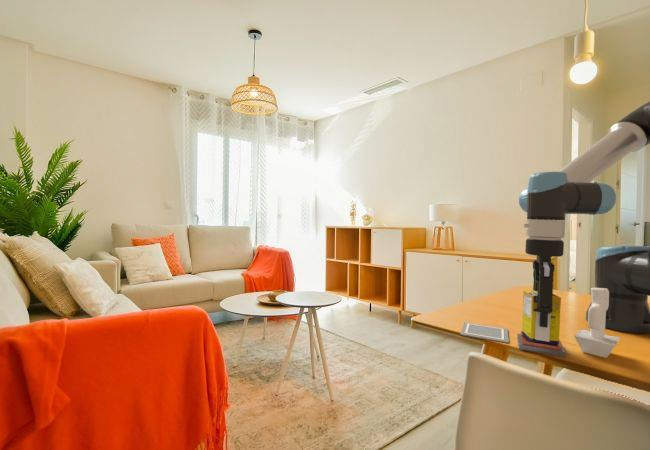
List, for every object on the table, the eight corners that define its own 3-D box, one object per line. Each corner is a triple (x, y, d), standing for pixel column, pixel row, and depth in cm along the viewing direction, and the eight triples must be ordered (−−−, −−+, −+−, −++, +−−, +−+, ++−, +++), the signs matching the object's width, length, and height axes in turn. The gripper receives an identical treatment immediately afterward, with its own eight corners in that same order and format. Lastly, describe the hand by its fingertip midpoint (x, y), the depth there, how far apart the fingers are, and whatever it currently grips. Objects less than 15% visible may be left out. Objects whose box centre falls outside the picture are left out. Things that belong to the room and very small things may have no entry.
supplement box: (559, 344, 77) (561, 297, 76) (530, 342, 78) (532, 295, 77) (548, 335, 82) (550, 291, 82) (521, 333, 84) (523, 289, 83)
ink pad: (559, 345, 82) (560, 337, 82) (565, 357, 75) (566, 348, 74) (517, 338, 86) (517, 330, 86) (518, 349, 79) (519, 340, 79)
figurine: (572, 352, 77) (575, 287, 77) (582, 342, 84) (585, 282, 83) (613, 363, 72) (616, 294, 71) (620, 352, 78) (623, 288, 78)
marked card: (507, 329, 92) (507, 328, 92) (508, 343, 82) (508, 341, 82) (464, 323, 97) (464, 321, 97) (460, 335, 87) (460, 333, 87)
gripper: (523, 235, 90) (519, 320, 91) (529, 240, 72) (524, 346, 73) (557, 236, 86) (552, 325, 87) (572, 242, 69) (566, 353, 70)
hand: (540, 334), depth 80 cm, fingers closed on supplement box, 7 cm apart
